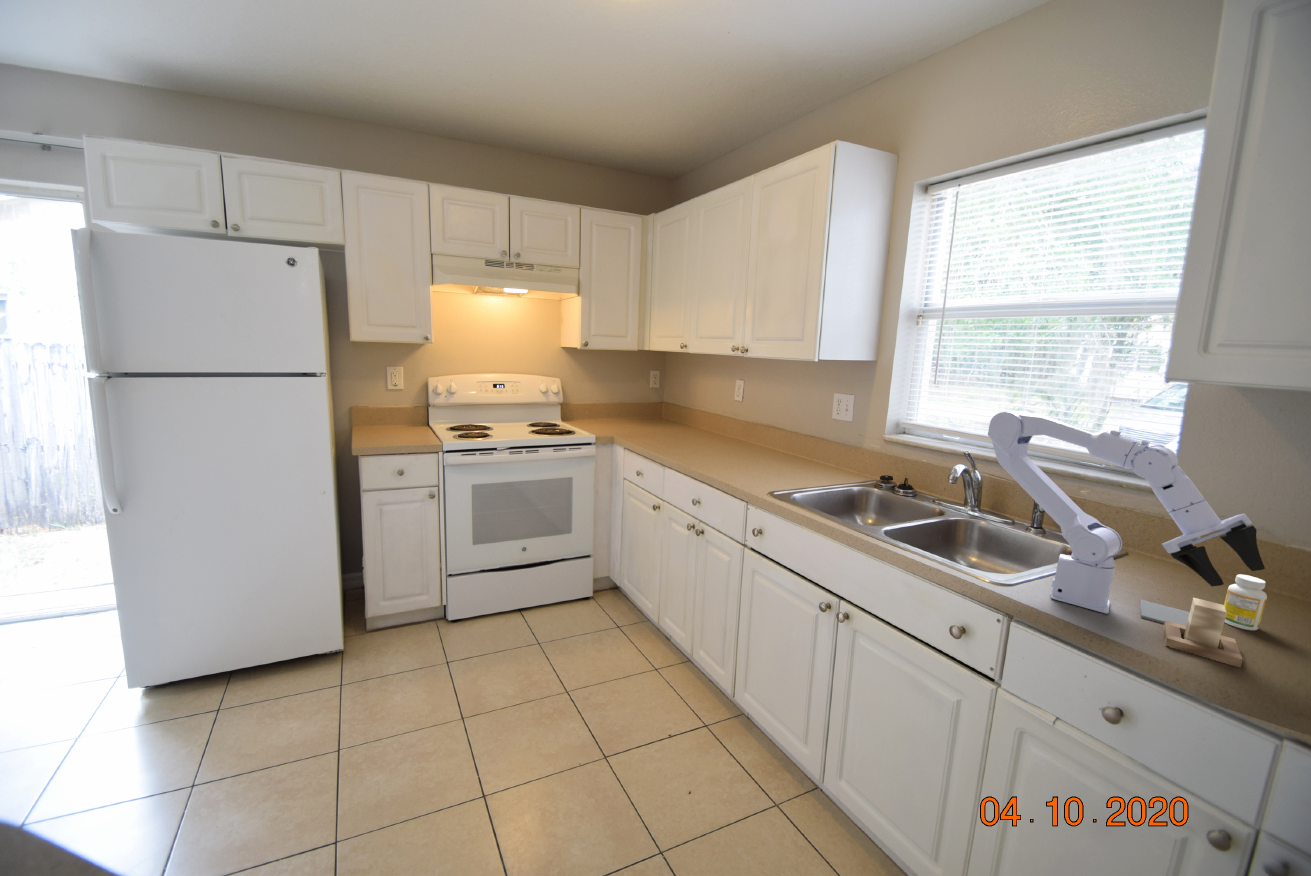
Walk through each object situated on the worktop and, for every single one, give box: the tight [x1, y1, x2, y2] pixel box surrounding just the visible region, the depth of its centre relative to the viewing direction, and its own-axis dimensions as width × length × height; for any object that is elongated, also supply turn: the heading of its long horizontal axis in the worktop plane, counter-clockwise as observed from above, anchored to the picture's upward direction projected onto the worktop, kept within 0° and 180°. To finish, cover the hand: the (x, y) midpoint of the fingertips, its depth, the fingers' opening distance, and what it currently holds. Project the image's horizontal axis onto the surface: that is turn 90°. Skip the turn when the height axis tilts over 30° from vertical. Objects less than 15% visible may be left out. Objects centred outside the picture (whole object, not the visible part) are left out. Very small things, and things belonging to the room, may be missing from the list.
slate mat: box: [1139, 599, 1190, 626], centre depth 113 cm, size 10×10×1 cm
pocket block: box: [1162, 620, 1243, 668], centre depth 102 cm, size 10×10×2 cm
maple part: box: [1183, 597, 1227, 649], centre depth 101 cm, size 4×4×8 cm
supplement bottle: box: [1223, 573, 1268, 631], centre depth 111 cm, size 5×5×10 cm
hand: (1238, 577), depth 100 cm, fingers open, 7 cm apart
